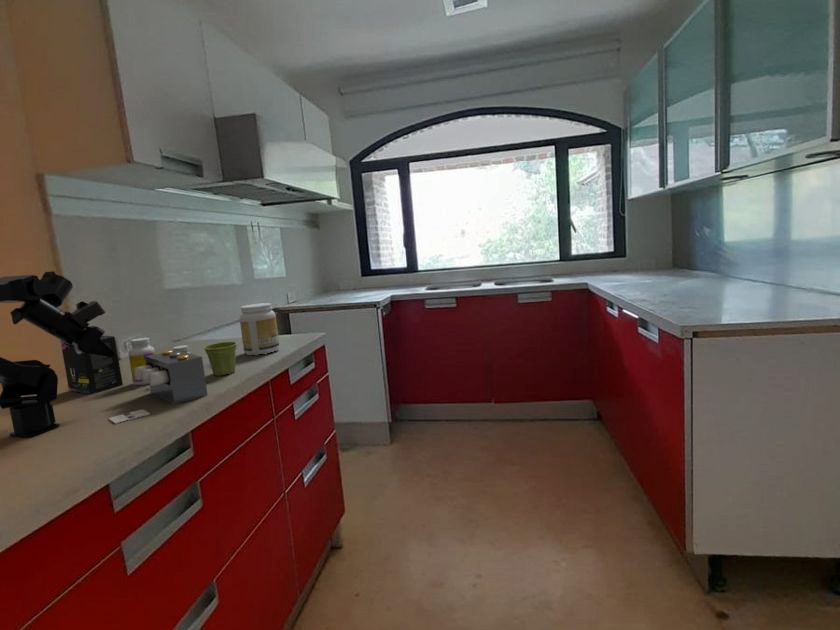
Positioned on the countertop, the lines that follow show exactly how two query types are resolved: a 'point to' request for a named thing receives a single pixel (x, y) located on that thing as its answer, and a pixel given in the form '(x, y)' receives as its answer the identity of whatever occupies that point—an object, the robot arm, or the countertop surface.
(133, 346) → the supplement bottle
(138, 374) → the button
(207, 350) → the plant pot
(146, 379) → the button
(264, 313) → the supplement tub
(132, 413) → the card
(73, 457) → the countertop surface
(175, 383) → the console
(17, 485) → the countertop surface
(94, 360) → the tampon box
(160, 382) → the button
